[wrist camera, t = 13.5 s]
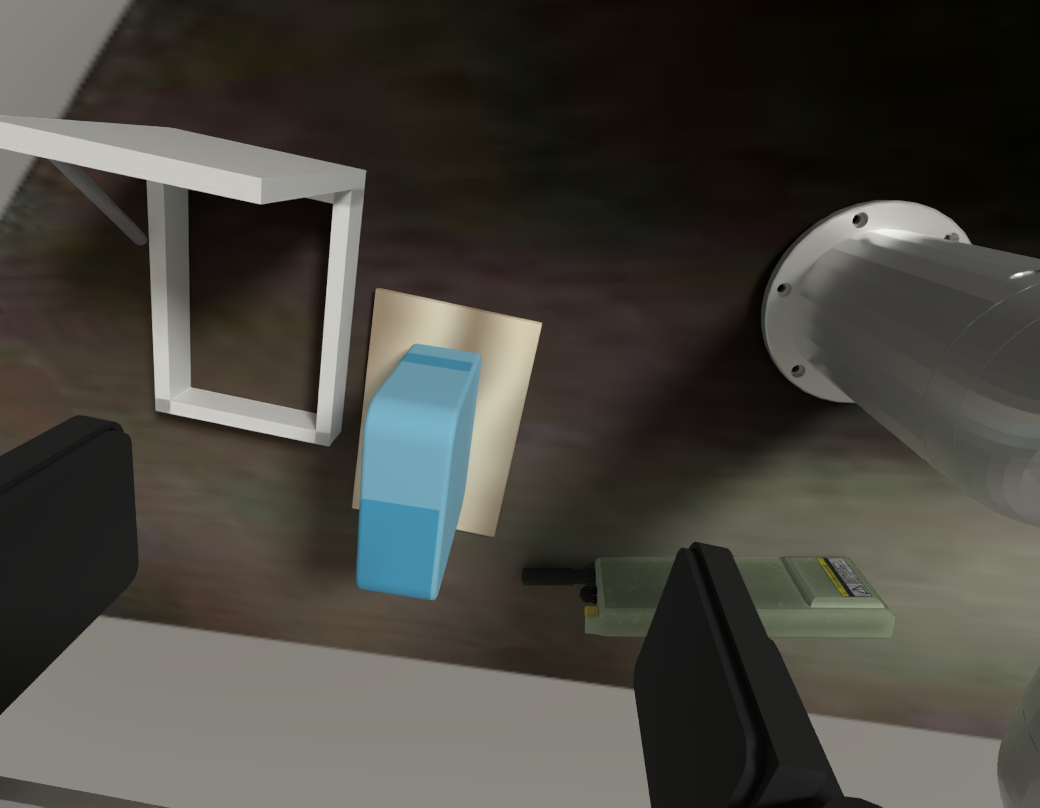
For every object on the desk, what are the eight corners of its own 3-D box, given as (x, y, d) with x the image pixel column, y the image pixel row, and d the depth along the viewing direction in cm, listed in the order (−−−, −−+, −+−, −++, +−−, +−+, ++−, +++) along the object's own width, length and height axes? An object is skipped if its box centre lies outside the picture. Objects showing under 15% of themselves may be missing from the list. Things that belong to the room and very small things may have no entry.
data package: (416, 336, 40) (362, 405, 29) (483, 347, 40) (455, 420, 29) (404, 490, 44) (353, 601, 33) (464, 500, 45) (433, 614, 33)
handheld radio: (845, 585, 46) (523, 584, 48) (851, 549, 45) (522, 549, 47) (890, 648, 40) (518, 644, 42) (898, 607, 39) (516, 605, 41)
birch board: (541, 322, 40) (541, 324, 39) (494, 533, 46) (494, 537, 46) (377, 287, 39) (375, 289, 39) (353, 504, 46) (351, 508, 45)
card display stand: (366, 170, 37) (261, 178, 24) (341, 431, 43) (249, 547, 31) (156, 124, 36) (-67, 107, 23) (164, 394, 43) (-3, 496, 30)
